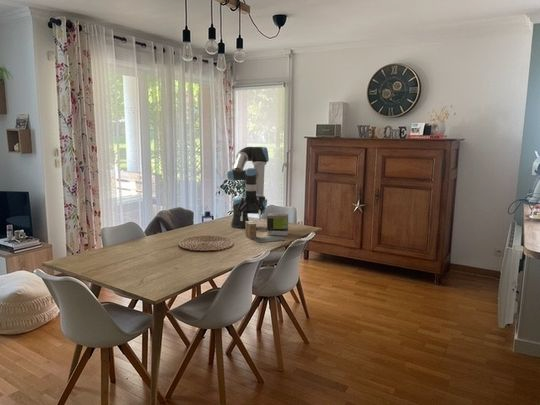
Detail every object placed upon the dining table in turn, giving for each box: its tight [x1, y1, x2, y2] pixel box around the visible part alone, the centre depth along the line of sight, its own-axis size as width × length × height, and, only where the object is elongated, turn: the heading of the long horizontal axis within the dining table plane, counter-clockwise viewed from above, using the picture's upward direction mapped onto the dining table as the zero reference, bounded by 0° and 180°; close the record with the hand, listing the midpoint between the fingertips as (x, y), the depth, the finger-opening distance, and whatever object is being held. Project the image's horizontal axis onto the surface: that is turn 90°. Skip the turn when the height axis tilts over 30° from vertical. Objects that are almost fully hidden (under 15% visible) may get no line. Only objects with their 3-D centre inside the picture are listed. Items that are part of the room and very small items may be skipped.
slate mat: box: [253, 235, 286, 244], centre depth 276 cm, size 10×20×1 cm, turn 112°
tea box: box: [266, 213, 289, 236], centre depth 292 cm, size 15×10×15 cm, turn 84°
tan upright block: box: [244, 220, 257, 240], centre depth 281 cm, size 9×5×11 cm, turn 22°
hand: (250, 220), depth 280 cm, fingers open, 13 cm apart
